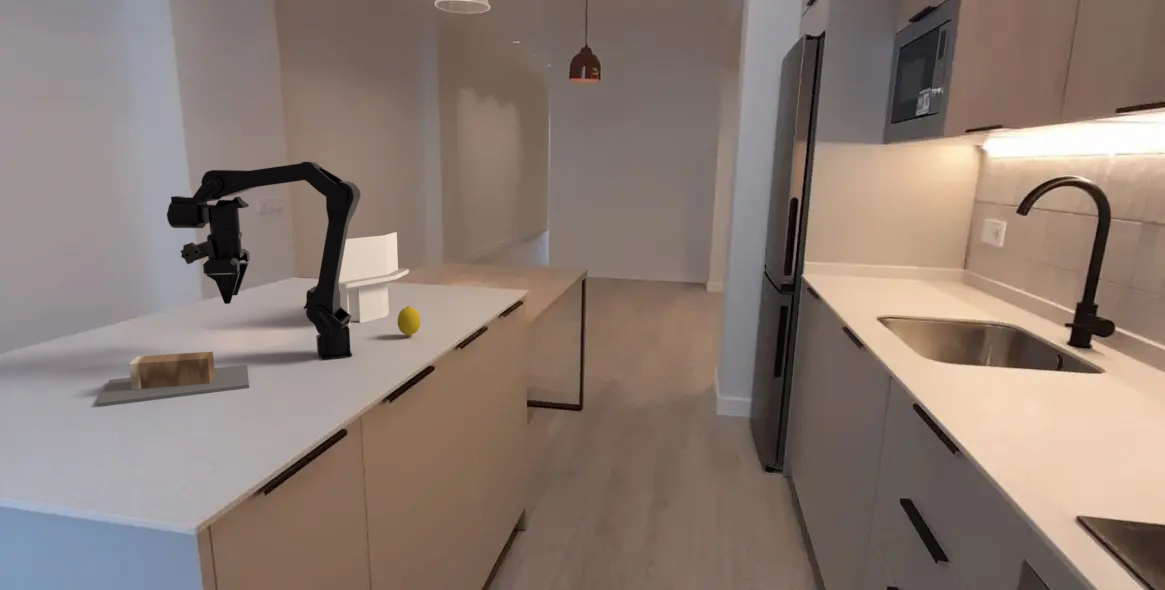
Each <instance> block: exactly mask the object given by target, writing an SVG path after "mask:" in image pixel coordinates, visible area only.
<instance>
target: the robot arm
mask: <svg viewBox="0 0 1165 590" xmlns="http://www.w3.org/2000/svg"><path fill="white" fill-rule="evenodd" d="M303 181H305V182H307V183H308V184H309V185H310V186H311V187H312V188H314V189H315V190H316V191H317V192H318V193H319V194H322V195H323V196H324V197H325V205H326V206H325V207H326V214H327V220H328V221H327V227H326V234H325V239H324V240H325V241H324V246H323V251H322V252H323V253H322V258H321V263H320V269H319V276H318V281H317V284H316V286H315V285H314V286H313V287H311V288H310V289H308V290H306V301H305V305H304V306H303V310H305V313H306V318H307V319H308V320H309V321H310V322H311V323H312V324H313V325H314V327H315V329H316V331H317V333H318V334H317V335H316V336H315V339H316V340H315V341H316V353H317V355H318V356H320V358H321V360H329V359H330V360H331V359H340V358H348V357H352V356H353V353H352V351H351V339H350V337H351V335H350V326H347V324H349V321H350V318H351V315H350V314H348V313H347V312H346V311H345V310H344V309H343V308H342V307H341V306H340V288H339V284H338V283H339V277H340V271H341V265H342V260H343V254H344V248H345V243H346V239H347V237H348V232H349V225H350V222H351V220H352V218H353V216H354V214H355V213H356V211H357V207H358V205H359V202H360V200H361V191H360V189H359V187H358V186H357V185H356V184H355V183H354V182H351V181H349V180H348V181H347V180H342V179H341V178H339V177H338V176H337V175H336V174H333V173H332V172H329V170H326V169H325V168H323V167H321V166H320V165H319V164H318V163H317V162H315V161H302V162H300V163H294V164H288V165H280V166H279V165H278V166H273V167H267V168H258V169H253V170H245V169H244V170H241V169H212V170H211V169H210V170H208V171H206V172H204V174H203V176H202V178H201V185H200V186H199V187H198V189H197V190H196V192H195V194H194V195H193V196H192V197H191V196H190V197H189V196H182V195H173V196H171V197H170V201H171V202H170V203H169V205H168V208H167V212H166V217H167V222H168V224H169V226H170V227H171V228H174V229H204V228H205V227H206V225H208V224H209V234H208V235H207V236H206V241H202V242H200V243H196V244H195V243H194V242H193V241H192V242H189V243H186V244H184V245H182V247H183V248H182V249H181V250H180V253H181V255H180V256H181V258H182V259H184V261H185V263H186V264H187V265H190V264H192V263H194V262H196V261H199V260H202V259H204V258H208V259H207V260H206V261H205V262H204V263H203V264H202V268H203V274H204V275H206V277H208V278H210V279H212V280H213V281H215V283H216V285H217V287H218V290H219V294H220V296H221V298H222V300H223V304H225V305H229V304H231V302H232V299H233V296H237V295H238V294H239V292H240V289H241V285H242V283H243V280H244V278H245V275H246V272H247V269H248V267H249V264H250V263H249V262H251V258H250V252H249V251H248V250H247V249H246V248H242V237H243V231H241V224H240V214H239V213H240V212H239V209H244V208H248V207H250V205H249V203H247V202H246V201H244V200H243V199H242V198H241V196H237V195H238V194H242V193H245V192H248V191H250V190H252V189H257V188H261V187H266V186H273V185H281V184H289V183H294V182H303ZM233 196H235V197H234V198H233V199H222V198H225V197H226V198H227V197H233ZM212 201H216V203H215V204H213V203H212V204H211V203H210V204H209V203H208V202H212ZM242 261H244V262H242ZM350 322H351V321H350Z"/></svg>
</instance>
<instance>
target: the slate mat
mask: <svg viewBox="0 0 1165 590" xmlns="http://www.w3.org/2000/svg"><path fill="white" fill-rule="evenodd" d="M214 368H215V376H214V378H213V380H212V381H211V383H208V384H195V385H182V386H169V387H157V388H144V389H132V385H131V377H122V378H115V379H109V380H108V382H107V384H106V386H105V388H104V390H103V391H102V394H101V395H100V397H99V399H98V401H97V402H96V405H97V407H105V406H112V405H113V406H114V405H121V404H130V403H137V402H145V401H152V400H160V399H161V400H162V399H167V398H176V397H186V396H192V395H193V396H194V395H200V394H201V395H203V394H209V393H216V392H224V391H231V390H239V389H240V390H241V389H248V388H250V382H249V381H250V380H249V370H248V364H240V365H231V366H220V367H214Z"/></svg>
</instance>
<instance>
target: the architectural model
mask: <svg viewBox="0 0 1165 590" xmlns="http://www.w3.org/2000/svg"><path fill="white" fill-rule="evenodd" d="M398 256H399V255H398V233H397V231H394V232H391V233H388V234H384V235H375V236H366V237H365V236H364V237H355V238H346V243H345V248H344V254H343V260H342V265H341V271H340V277H339V283H338V284H339V291H340V306H341V307H342V308H343V309H344V310H345V311H346V312H347V313H348V314H350V315H351V318H350V321H349V324H347V325H346V326H348V327H350V326H351V322H358V321H359V323H360V324H362V323H365V322H366V323H367V322H371V321H374V320H379V319H383V318H386V317H387V316H389V313H390V312H389V308H390V307H389V286H388V285H389V284H388V282H389V281H395V280H397V279H399V278H401V277H404V276H405V275H407V274H409V273H410V269H409V268H406V267H402V268H401V267H399V261H398V259H399V258H398Z"/></svg>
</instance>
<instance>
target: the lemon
mask: <svg viewBox="0 0 1165 590" xmlns="http://www.w3.org/2000/svg"><path fill="white" fill-rule="evenodd" d="M397 326H398V330H399V331H400V332H401V333H402V334H404V335H406V336H407V337H408V338H410V337H412V336H413V335H414V334H416V333H417V332H418V331H419V329H420V327H421V318H420V314H419V312H418V311H417V309H415V308H413V307H411V306H410V305H408V306H406V307H403V308H402V309H401V310H400V311H399V313H398V316H397Z"/></svg>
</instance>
